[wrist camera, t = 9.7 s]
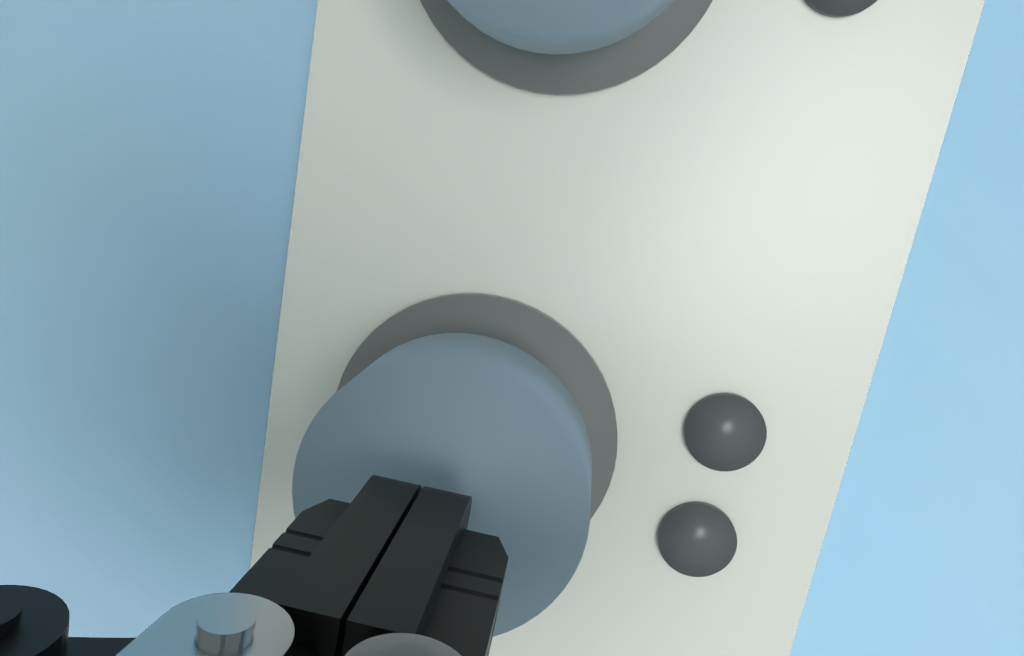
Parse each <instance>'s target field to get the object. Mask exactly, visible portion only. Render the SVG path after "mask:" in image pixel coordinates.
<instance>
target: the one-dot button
mask: <svg viewBox="0 0 1024 656" xmlns="http://www.w3.org/2000/svg"><path fill="white" fill-rule="evenodd" d="M447 1H448V2H449V3H450V4H451V5H452V6H453V7H454V8H455V9H456V10H457V11H458V12H459V13H460V14H461V15H462V16H463V17H464V18H465V19H466V20H467V21H468V22H470V23H471V24H472V25H474V26H475V27H476V28H477V29H479V30H480V31H481V32H483V33H485V34H487V35H488V36H490V37H492V38H494V39H495V40H497V41H499V42H502V43H504V44H507V45H509V46H512V47H514V48H518V49H522V50H526V51H530V52H534V53H543V54H552V55H555V54H575V53H581V52H587V51H592V50H595V49H599V48H602V47H605V46H608V45H611V44H613V43H616V42H618V41H620V40H622V39H624V38H626V37H628V36H630V35H632V34H633V33H635V32H637V31H638V30H640V29H641V28H643V27H645V26H646V25H647V24H649V23H650V22H651V21H652V20H654V19H655V18H656V17H657V16H658V15H660V14H661V13H662V12H663V11H664V10H665V9H666V8H667V7H668V6H669V5H670V4H671V3H672V2H673V1H674V0H447Z"/></svg>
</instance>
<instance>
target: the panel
mask: <svg viewBox="0 0 1024 656" xmlns="http://www.w3.org/2000/svg"><path fill="white" fill-rule="evenodd" d="M984 3H985V0H674V1H673V2H672V3H671V4H670V5H669V6H668V7H667V8H666V9H665V10H664V11H663V12H662V13H661V14H660V15H658V16H657V17H656V18H655V19H654V20H652V21H651V22H650V23H649V24H647V25H646V26H645V27H643V28H641V29H640V30H638V31H637V32H635V33H633V34H632V35H630V36H628V37H626V38H624V39H622V40H620V41H618V42H616V43H613V44H611V45H608V46H605V47H602V48H599V49H595V50H592V51H587V52H581V53H575V54H555V55H552V54H543V53H534V52H530V51H526V50H522V49H518V48H514V47H512V46H509V45H507V44H504V43H502V42H499V41H497V40H495V39H494V38H492V37H490V36H488V35H487V34H485V33H483V32H481V31H480V30H479V29H477V28H476V27H475V26H474V25H472V24H471V23H470V22H468V21H467V20H466V19H465V18H464V17H463V16H462V15H461V14H460V13H459V12H458V11H457V10H456V9H455V8H454V7H453V6H452V5H451V4H450V3H449V2H448V1H447V0H318V3H317V11H316V20H315V28H314V36H313V45H312V53H311V61H310V70H309V78H308V86H307V95H306V103H305V111H304V120H303V128H302V137H301V145H300V153H299V162H298V170H297V178H296V187H295V195H294V203H293V212H292V220H291V228H290V237H289V245H288V253H287V262H286V270H285V279H284V287H283V295H282V304H281V312H280V320H279V329H278V337H277V345H276V354H275V362H274V370H273V379H272V387H271V396H270V404H269V412H268V421H267V429H266V437H265V446H264V454H263V462H262V471H261V479H260V487H259V496H258V504H257V513H256V521H255V529H254V538H253V546H252V554H251V563H250V569H251V568H252V566H253V565H254V564H255V563H256V562H257V561H258V560H259V559H260V558H261V556H262V555H263V554H264V553H265V552H266V551H267V550H268V549H269V548H272V545H273V543H274V542H275V541H276V540H277V539H278V537H279V536H280V535H281V534H282V533H283V532H284V533H285V532H286V529H287V527H288V526H289V525H290V524H291V523H292V522H293V521H294V520H295V515H294V510H293V499H292V481H293V470H294V465H295V460H296V456H297V453H298V450H299V447H300V444H301V441H302V438H303V436H304V434H305V432H306V431H307V429H308V427H309V425H310V423H311V421H312V420H313V418H314V417H315V416H316V414H317V413H318V411H319V410H320V409H321V407H322V406H323V405H324V404H325V403H326V402H327V401H328V400H329V399H330V398H331V397H332V396H333V395H334V394H335V393H336V392H337V391H338V390H340V389H341V388H342V387H343V386H345V385H346V384H347V383H348V382H350V381H351V380H352V379H353V378H355V377H356V376H357V375H358V374H360V373H361V372H362V371H363V370H364V369H366V368H367V367H368V366H369V365H371V364H372V363H373V362H374V361H376V360H377V359H378V358H380V357H381V356H382V355H383V354H385V353H387V352H388V351H390V350H392V349H394V348H395V347H397V346H399V345H401V344H404V343H406V342H409V341H411V340H413V339H417V338H421V337H425V336H428V335H434V334H442V333H469V334H476V335H483V336H487V337H490V338H494V339H497V340H501V341H503V342H506V343H508V344H510V345H513V346H515V347H517V348H519V349H521V350H522V351H524V352H526V353H528V354H529V355H531V356H533V357H534V358H535V359H537V360H538V361H539V362H541V363H542V364H543V365H544V366H546V367H547V368H548V369H549V370H550V371H551V372H552V373H553V374H554V375H555V376H556V377H557V378H558V379H559V380H560V381H561V383H562V384H563V385H564V387H565V388H566V389H567V390H568V392H569V393H570V395H571V396H572V398H573V400H574V401H575V403H576V405H577V406H578V408H579V410H580V413H581V415H582V417H583V420H584V422H585V425H586V429H587V432H588V436H589V440H590V446H591V454H592V481H591V512H590V526H589V532H588V539H587V543H586V546H585V549H584V553H583V556H582V558H581V561H580V563H579V565H578V567H577V569H576V571H575V573H574V575H573V577H572V578H571V580H570V581H569V583H568V584H567V586H566V587H565V589H564V590H563V591H562V592H561V594H560V595H559V596H558V597H557V598H556V599H555V600H554V601H553V603H552V604H550V605H549V606H548V607H547V608H546V609H545V610H543V611H542V612H541V613H540V614H539V615H537V616H536V617H534V618H533V619H531V620H530V621H528V622H526V623H525V624H523V625H521V626H519V627H517V628H515V629H513V630H511V631H509V632H506V633H503V634H500V635H497V636H494V637H492V642H491V647H490V652H489V656H789V654H790V651H791V647H792V644H793V641H794V637H795V634H796V631H797V627H798V624H799V621H800V617H801V614H802V611H803V607H804V604H805V601H806V597H807V594H808V591H809V587H810V584H811V581H812V577H813V574H814V571H815V567H816V564H817V560H818V557H819V554H820V550H821V547H822V544H823V540H824V537H825V534H826V530H827V527H828V524H829V520H830V517H831V514H832V510H833V507H834V504H835V500H836V497H837V494H838V490H839V487H840V484H841V480H842V477H843V474H844V470H845V467H846V464H847V460H848V457H849V454H850V450H851V447H852V444H853V440H854V437H855V434H856V430H857V427H858V424H859V420H860V417H861V413H862V410H863V407H864V403H865V400H866V397H867V393H868V390H869V387H870V383H871V380H872V377H873V373H874V370H875V367H876V363H877V360H878V357H879V353H880V350H881V347H882V343H883V340H884V337H885V333H886V330H887V327H888V323H889V320H890V317H891V313H892V310H893V307H894V303H895V300H896V297H897V293H898V290H899V287H900V283H901V280H902V276H903V273H904V270H905V266H906V263H907V260H908V256H909V253H910V250H911V246H912V243H913V240H914V236H915V233H916V230H917V226H918V223H919V220H920V216H921V213H922V210H923V206H924V203H925V200H926V196H927V193H928V190H929V186H930V183H931V180H932V176H933V173H934V170H935V166H936V163H937V160H938V156H939V153H940V150H941V146H942V143H943V140H944V136H945V133H946V129H947V126H948V123H949V119H950V116H951V113H952V109H953V106H954V103H955V99H956V96H957V93H958V89H959V86H960V83H961V79H962V76H963V73H964V69H965V66H966V63H967V59H968V56H969V53H970V49H971V46H972V43H973V39H974V36H975V33H976V29H977V26H978V23H979V19H980V16H981V13H982V9H983V6H984Z"/></svg>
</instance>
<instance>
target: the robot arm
mask: <svg viewBox="0 0 1024 656" xmlns="http://www.w3.org/2000/svg"><path fill="white" fill-rule="evenodd" d="M471 503H472V496H467V495H463V494H459V493H454V492H450V491H445V490H441V489H436V488H432V487H427V486H424V487H423V488H422V487H421V485H418V484H413V483H409V482H404V481H400V480H395V479H391V478H386V477H382V476H378V475H372V476H371V477H370V479H369V480H368V481H367V482H366V484H365V485H364V486H363V488H362V489H361V490H360V492H359V493H358V494H357V495H356V497H355V498H354V499H353V501H352V502H351V503H347V502H343V501H338V500H334V499H328V500H326V501H323V502H321V503H319V504H317V505H314V506H312V507H310V508H308V509H305V510H303V511H302V512H301V513H300V514H299V515H298V516H297V517H296V519H295V520H294V521H293V522H292V523H291V524H290V525H289V526H288V527H287V529H286V532H285V533H284V532H283V533H282V534H281V535H280V536H279V537H278V539H277V540H276V541H275V542H274V543H273V545H272V548H269V549H268V550H267V551H266V552H265V553H264V554H263V555H262V556H261V558H260V559H259V560H258V561H257V562H256V563H255V564H254V565H253V566H252V568H251V569H250V570H249V571H248V572H247V573H246V574H245V575H244V576H243V578H242V579H241V580H240V581H239V582H238V583H237V584H236V585H235V587H234V588H233V589H232V590H231V591H230V592H229V593H214V594H209V595H203V596H199V597H196V598H192V599H190V600H187V601H185V602H182V603H180V604H178V605H176V606H175V607H173V608H171V609H170V610H169V611H167V612H166V613H165V614H163V615H162V616H161V617H160V618H159V619H158V620H156V621H155V622H154V623H153V624H152V625H151V626H149V627H148V628H147V629H146V630H145V631H144V632H142V633H141V634H140V635H139V636H138V637H137V638H87V637H68V631H69V610H68V607H67V605H66V604H65V603H64V601H63V600H62V599H61V598H59V597H58V596H56V595H55V594H53V593H51V592H49V591H46V590H43V589H39V588H36V587H29V586H21V585H0V656H489V652H490V647H491V642H492V637H493V632H494V627H495V622H496V617H497V612H498V607H499V603H500V598H501V593H502V588H503V583H504V578H505V573H506V568H507V563H508V556H507V554H506V551H505V549H504V547H503V545H502V543H501V541H500V539H499V537H497V536H493V535H488V534H484V533H479V532H475V531H471V530H467V527H468V521H469V516H470V510H471Z"/></svg>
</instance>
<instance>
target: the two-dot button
mask: <svg viewBox="0 0 1024 656" xmlns="http://www.w3.org/2000/svg"><path fill="white" fill-rule="evenodd" d="M372 475H378V476H382V477H386V478H391V479H395V480H400V481H404V482H409V483H413V484H418V485H421V487H422V488H423V487H424V486H427V487H432V488H436V489H441V490H445V491H450V492H454V493H459V494H463V495H467V496H472V503H471V510H470V516H469V521H468V527H467V530H471V531H475V532H479V533H484V534H488V535H493V536H497V537H499V539H500V541H501V543H502V545H503V547H504V549H505V551H506V554H507V556H508V563H507V568H506V573H505V578H504V583H503V588H502V593H501V598H500V603H499V607H498V612H497V617H496V622H495V627H494V632H493V637H494V636H497V635H500V634H503V633H506V632H509V631H511V630H513V629H515V628H517V627H519V626H521V625H523V624H525V623H526V622H528V621H530V620H531V619H533V618H534V617H536V616H537V615H539V614H540V613H541V612H542V611H543V610H545V609H546V608H547V607H548V606H549V605H550V604H552V603H553V601H554V600H555V599H556V598H557V597H558V596H559V595H560V594H561V592H562V591H563V590H564V589H565V587H566V586H567V584H568V583H569V581H570V580H571V578H572V577H573V575H574V573H575V571H576V569H577V567H578V565H579V563H580V561H581V558H582V556H583V553H584V549H585V546H586V543H587V539H588V532H589V526H590V512H591V481H592V454H591V446H590V440H589V436H588V432H587V429H586V425H585V422H584V420H583V417H582V415H581V413H580V410H579V408H578V406H577V405H576V403H575V401H574V400H573V398H572V396H571V395H570V393H569V392H568V390H567V389H566V388H565V387H564V385H563V384H562V383H561V381H560V380H559V379H558V378H557V377H556V376H555V375H554V374H553V373H552V372H551V371H550V370H549V369H548V368H547V367H546V366H544V365H543V364H542V363H541V362H539V361H538V360H537V359H535V358H534V357H533V356H531V355H529V354H528V353H526V352H524V351H522V350H521V349H519V348H517V347H515V346H513V345H510V344H508V343H506V342H503V341H501V340H497V339H494V338H490V337H487V336H483V335H476V334H469V333H442V334H434V335H428V336H425V337H421V338H417V339H413V340H411V341H409V342H406V343H404V344H401V345H399V346H397V347H395V348H394V349H392V350H390V351H388V352H387V353H385V354H383V355H382V356H381V357H380V358H378V359H377V360H376V361H374V362H373V363H372V364H371V365H369V366H368V367H367V368H366V369H364V370H363V371H362V372H361V373H360V374H358V375H357V376H356V377H355V378H353V379H352V380H351V381H350V382H348V383H347V384H346V385H345V386H343V387H342V388H341V389H340V390H338V391H337V392H336V393H335V394H334V395H333V396H332V397H331V398H330V399H329V400H328V401H327V402H326V403H325V404H324V405H323V406H322V407H321V409H320V410H319V411H318V413H317V414H316V416H315V417H314V418H313V420H312V421H311V423H310V425H309V427H308V429H307V431H306V432H305V434H304V436H303V438H302V441H301V444H300V447H299V450H298V453H297V456H296V460H295V465H294V470H293V481H292V499H293V510H294V515H295V519H296V517H297V516H298V515H299V514H300V513H301V512H302V511H303V510H305V509H308V508H310V507H312V506H314V505H317V504H319V503H321V502H323V501H326V500H328V499H334V500H338V501H343V502H347V503H351V502H352V501H353V499H354V498H355V497H356V495H357V494H358V493H359V492H360V490H361V489H362V488H363V486H364V485H365V484H366V482H367V481H368V480H369V479H370V477H371V476H372Z"/></svg>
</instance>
